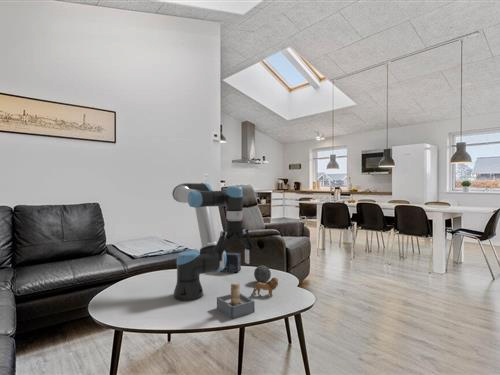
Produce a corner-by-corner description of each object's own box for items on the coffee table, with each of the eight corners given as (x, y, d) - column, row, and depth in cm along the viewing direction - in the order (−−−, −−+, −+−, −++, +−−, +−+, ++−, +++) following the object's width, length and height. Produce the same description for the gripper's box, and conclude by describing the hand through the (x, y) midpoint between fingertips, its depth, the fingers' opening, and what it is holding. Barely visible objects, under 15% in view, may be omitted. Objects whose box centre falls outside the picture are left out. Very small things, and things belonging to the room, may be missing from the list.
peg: (229, 309, 137) (229, 283, 137) (236, 307, 139) (236, 282, 139) (233, 312, 134) (233, 286, 134) (241, 310, 136) (241, 284, 136)
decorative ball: (256, 285, 170) (256, 268, 170) (252, 280, 180) (252, 264, 180) (273, 284, 172) (272, 267, 172) (268, 279, 182) (267, 263, 182)
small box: (241, 270, 202) (241, 253, 202) (238, 273, 195) (237, 255, 195) (223, 269, 205) (223, 252, 205) (219, 271, 199) (219, 254, 199)
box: (216, 307, 139) (216, 297, 139) (238, 302, 146) (238, 292, 146) (231, 318, 127) (231, 307, 127) (254, 312, 134) (254, 301, 134)
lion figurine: (277, 292, 159) (276, 275, 159) (279, 296, 154) (279, 278, 154) (250, 294, 157) (250, 277, 157) (251, 297, 151) (251, 280, 151)
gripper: (214, 222, 126) (214, 271, 127) (261, 218, 140) (261, 263, 141) (206, 221, 133) (206, 267, 133) (252, 217, 147) (252, 259, 147)
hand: (234, 265), depth 137 cm, fingers open, 13 cm apart
